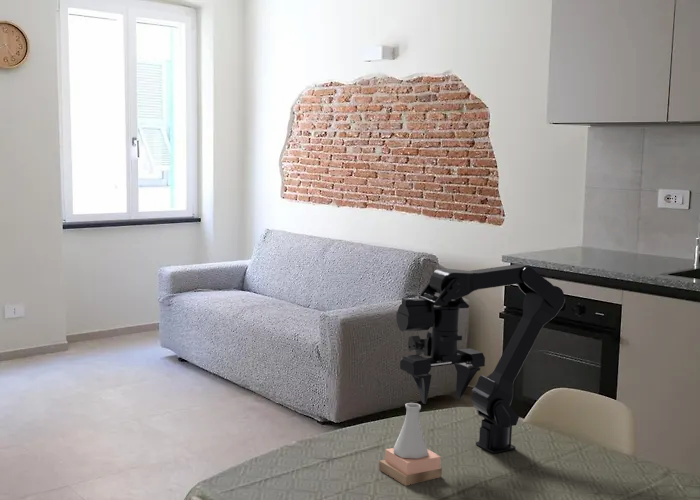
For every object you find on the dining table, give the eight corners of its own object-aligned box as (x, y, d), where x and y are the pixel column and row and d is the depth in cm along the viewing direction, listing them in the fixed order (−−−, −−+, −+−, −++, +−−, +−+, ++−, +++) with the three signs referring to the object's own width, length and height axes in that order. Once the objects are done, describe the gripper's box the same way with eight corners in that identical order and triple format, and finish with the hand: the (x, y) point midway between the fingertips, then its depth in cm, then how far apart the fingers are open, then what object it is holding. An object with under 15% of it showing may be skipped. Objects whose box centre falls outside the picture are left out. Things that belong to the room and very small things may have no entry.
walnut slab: (413, 464, 170) (414, 453, 170) (441, 479, 162) (441, 467, 162) (378, 472, 165) (379, 460, 165) (405, 488, 157) (405, 476, 157)
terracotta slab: (417, 455, 169) (418, 443, 168) (440, 468, 162) (440, 456, 161) (385, 461, 165) (385, 449, 164) (406, 475, 158) (407, 463, 157)
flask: (434, 458, 160) (436, 410, 159) (399, 461, 158) (402, 411, 157) (421, 445, 167) (423, 398, 166) (387, 447, 165) (390, 400, 164)
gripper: (456, 318, 183) (453, 385, 185) (387, 324, 173) (384, 395, 175) (488, 328, 173) (484, 399, 175) (416, 335, 164) (413, 410, 166)
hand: (441, 400), depth 173 cm, fingers open, 9 cm apart
